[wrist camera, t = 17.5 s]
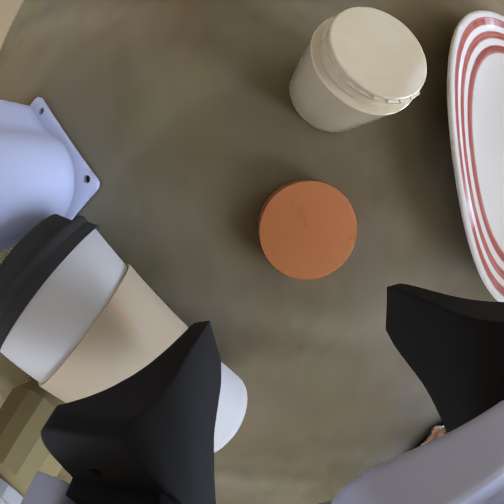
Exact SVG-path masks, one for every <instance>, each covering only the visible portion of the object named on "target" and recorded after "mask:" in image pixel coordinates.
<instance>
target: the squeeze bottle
mask: <svg viewBox="0 0 504 504" xmlns="http://www.w3.org/2000/svg"><path fill="white" fill-rule="evenodd" d="M60 404H65V402H64V401H62V400H60V399H59V398H57V397H56V396H54V395H52V394H51V393H49V392H48V391H46V390H45V389H43V388H42V387H40V386H39V385H38V381H37V380H35V379H33V380H31V381H29V382H27V383H25V384H22V385H20V386H18V387H16V388H14V389H12V391H11V393H10V394H9V396H8V397H7V399H6V400H5V402H4V404H3V405H2V407H1V409H0V504H21V502H22V500H23V498H24V495H25V493H26V491H27V489H28V487H29V485H30V484H31V482H32V480H33V478H34V476H35V474H36V472H37V471H40V472H43V473H45V474H48V475H51V476H54V477H56V476H57V475H58V473H59V472H60V470H61V469H62V466H61V465H60V463H59V462H58V461H57V460H56V459H55V458H54V457H53V456H52V455H51V454H50V452H49V451H48V450H47V448H46V447H45V445H44V443H43V441H42V439H41V433H40V432H41V430H42V428H43V427H44V425H45V423H46V422H47V420H48V419H49V417H50V415H51V414H52V412H53V411H54V409H55V408H56V406H57V405H60Z"/></svg>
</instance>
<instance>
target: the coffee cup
mask: <svg viewBox="0 0 504 504" xmlns="http://www.w3.org/2000/svg"><path fill="white" fill-rule="evenodd" d="M98 227H99V226H98V225H95V224H92V223H89V222H87V219H86V218H85V217H84V216H78V217H76V218H74V219H73V220H70V219H68V218H65V217H63V216H60V215H58V214H53V215H51V216H49V217H47V218H45V219H44V220H42V221H41V222H40V223H39V224H37V225H36V226H35V227H34V228H33V229H31V230H30V231H29V232H28V233H27V234H26V235H25V236H24V237H23V238H22V239H21V240H20V241H19V242H18V244H17V245H16V246H15V247H14V248H13V249H12V251H11V252H10V253H9V254H8V255H7V257H6V258H5V259H4V261H3V262H2V264H1V265H0V353H2V354H3V355H4V356H6V357H7V358H8V359H9V360H10V361H12V362H13V363H14V364H15V365H17V366H18V367H19V368H21V369H22V370H23V371H24V372H26V373H27V374H28V375H30V376H31V377H33V378H34V379H35V380H37V381H38V385H39V386H40V387H42V388H43V389H45V390H46V391H48V392H49V393H51V394H52V395H54V396H56V397H57V398H59V399H60V400H62V401H64V402H65V403H68V402H72V401H75V400H79V399H82V398H85V397H88V396H91V395H94V394H96V393H99V392H101V391H103V390H106V389H108V388H110V387H112V386H114V385H116V384H118V383H120V382H121V381H123V380H125V379H127V378H129V377H131V376H132V375H134V374H135V373H137V372H138V371H140V370H141V369H143V368H144V367H146V366H147V365H148V364H150V363H151V362H152V361H153V360H155V359H156V358H157V357H158V356H159V355H160V354H162V353H163V352H164V351H165V350H166V349H167V348H169V347H170V346H171V345H172V344H173V343H174V342H175V341H176V340H177V339H178V338H179V337H180V336H181V335H182V334H183V333H184V332H185V331H186V330H187V329H188V327H187V326H186V325H185V324H184V323H183V322H182V321H181V320H180V319H179V318H178V316H177V315H176V314H175V313H174V312H173V311H172V310H171V309H170V308H169V307H168V306H167V305H166V304H165V303H164V302H163V301H162V300H161V299H160V298H159V297H158V295H157V294H156V293H155V292H154V291H153V290H152V289H151V288H150V287H149V286H148V285H147V283H146V282H145V281H144V280H143V279H142V278H141V277H140V276H139V274H138V273H137V272H136V271H135V270H134V269H133V268H132V266H131V265H130V264H129V263H126V264H125V263H124V262H123V261H122V260H121V259H120V257H119V256H118V255H117V254H116V253H115V252H114V250H113V249H112V248H111V247H110V246H109V244H108V243H107V242H106V241H105V240H104V238H103V237H102V236H101V235H100V233H99V232H98V231H97V228H98ZM246 407H247V391H246V387H245V385H244V383H243V381H242V380H241V379H240V378H239V377H238V376H237V375H236V374H235V373H234V372H233V371H231V370H230V369H229V368H228V367H227V366H226V365H225V364H223V363H222V362H221V389H220V396H219V403H218V410H217V416H216V423H215V432H214V453H215V452H216V451H218V450H219V449H221V448H222V447H223V446H225V445H226V444H227V443H228V442H229V441H230V440H231V438H232V437H233V436H234V435H235V433H236V432H237V430H238V429H239V427H240V425H241V423H242V421H243V418H244V415H245V412H246Z"/></svg>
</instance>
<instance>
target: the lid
mask: <svg viewBox="0 0 504 504" xmlns="http://www.w3.org/2000/svg"><path fill="white" fill-rule="evenodd" d="M258 234H259V239H260V244H261V247H262V250H263V252H264V254H265V256H266V258H267V259H268V261H269V262H270V263H271V264H272V265H273V266H274V267H275V268H276V269H277V270H278V271H280V272H281V273H283V274H285V275H287V276H289V277H292V278H296V279H303V280H310V279H317V278H321V277H323V276H326V275H328V274H330V273H332V272H333V271H335V270H336V269H338V268H339V267H340V266H341V265H342V264H343V263H344V262H345V261H346V259H347V258H348V256H349V255H350V253H351V251H352V249H353V247H354V244H355V240H356V234H357V223H356V217H355V213H354V211H353V208H352V206H351V204H350V203H349V201H348V200H347V198H346V197H345V196H344V195H343V194H342V193H341V192H340V191H338V190H337V189H336V188H334V187H332V186H331V185H328V184H326V183H323V182H319V181H311V180H298V181H293V182H290V183H287V184H285V185H283V186H281V187H279V188H278V189H276V190H275V191H274V192H273V193H272V194H271V195H270V196H269V197H268V198H267V200H266V201H265V203H264V205H263V207H262V209H261V211H260V214H259V219H258Z"/></svg>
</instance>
